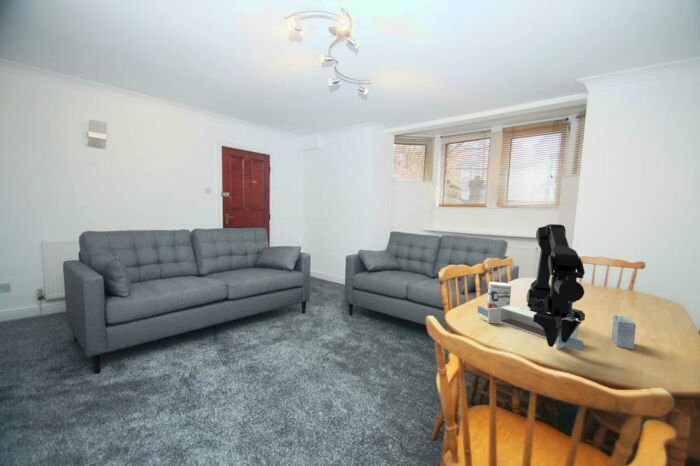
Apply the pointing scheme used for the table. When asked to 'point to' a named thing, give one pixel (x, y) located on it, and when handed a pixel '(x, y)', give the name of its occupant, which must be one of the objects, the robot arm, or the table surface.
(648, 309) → the table surface
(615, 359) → the table surface
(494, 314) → the flap
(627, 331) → the medicine box
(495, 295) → the ink box
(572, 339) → the flap
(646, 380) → the table surface
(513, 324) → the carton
